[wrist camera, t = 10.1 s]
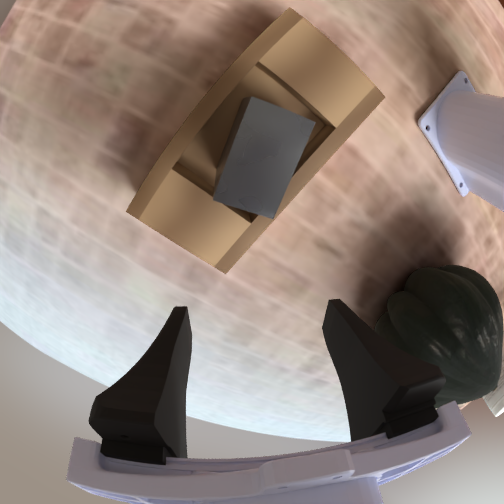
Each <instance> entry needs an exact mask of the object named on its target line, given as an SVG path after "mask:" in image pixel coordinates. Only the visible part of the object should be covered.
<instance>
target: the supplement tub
mask: <svg viewBox="0 0 504 504" xmlns="http://www.w3.org/2000/svg"><path fill="white" fill-rule="evenodd" d="M483 399H484V400H485V402H486V404H487V406H488V407H489V409H490V410H491V412H493V414H494V416H498V415H500V414H501V413H503V412H504V331H503V349H502V369H501V375H500V379H499V382H498V387H497V389H496V390H495V391H491V392H490V393H488V394H487V395H485V396H483Z"/></svg>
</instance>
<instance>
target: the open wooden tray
mask: <svg viewBox="0 0 504 504" xmlns="http://www.w3.org/2000/svg"><path fill="white" fill-rule="evenodd" d="M251 96H252V97H255V98H258V99H261V100H263V101H266V102H269V103H271V104H274V105H276V106H279V107H281V108H284V109H286V110H289V111H291V112H294V113H296V114H298V115H301V116H303V117H305V118H307V119H310V120H312V121H314V122H316V123H315V125H314V128H313V130H312V132H311V135H310V137H309V139H308V141H307V144H306V146H305V148H304V151H303V153H302V155H301V157H300V160H299V162H298V164H297V167H296V169H295V171H294V173H293V176H292V178H291V180H290V183H289V185H288V187H287V189H286V192H285V194H284V196H283V199H282V201H281V203H280V205H279V208H278V210H277V212H276V214H275V217H274V219H270V218H267V217H264V216H261V215H258V214H255V213H252V212H248V211H245V210H242V209H239V208H236V207H232V206H229V205H226V204H223V203H219V202H216V201H213V193H214V184H215V176H216V169H217V166H218V163H219V160H220V158H221V155H222V152H223V149H224V147H225V144H226V141H227V138H228V136H229V133H230V130H231V128H232V125H233V123H234V120H235V117H236V115H237V112H238V110H239V107H240V105H241V102H242V100H243V98H246V97H251ZM384 98H385V96H384V95H383V94H382V92H381V91H380V90H379V89H378V88H377V87H376V86H375V84H374V83H373V82H372V81H371V80H370V79H369V78H368V77H367V76H366V75H365V74H364V73H363V71H362V70H361V69H360V68H359V67H358V66H357V65H356V64H355V63H354V62H353V61H352V60H351V59H350V58H349V57H348V56H347V55H346V54H345V53H344V52H342V51H341V50H340V49H339V48H338V47H337V46H336V45H335V44H334V43H333V42H332V41H331V40H329V39H328V38H327V37H326V36H325V35H324V34H323V33H321V32H320V31H319V30H318V29H317V28H316V27H314V26H313V25H312V24H311V23H309V22H308V21H307V20H306V19H304V18H303V17H302V16H301V15H299V14H298V13H297V12H295V11H294V10H293V9H291V8H290V7H289V8H288V9H287V10H286V11H285V12H284V13H283V14H282V15H281V16H279V17H278V18H277V19H276V20H275V21H274V22H273V23H272V24H271V25H270V26H269V27H268V28H267V29H266V30H265V31H264V32H263V33H261V34H260V35H259V36H258V37H257V38H256V39H255V40H254V41H253V43H252V44H251V45H250V46H249V47H248V48H247V49H246V50H245V51H244V52H243V53H242V54H241V55H240V56H239V57H238V58H237V59H236V60H235V62H234V63H233V64H232V65H231V66H230V67H229V68H228V69H227V70H226V72H225V73H224V74H223V75H222V76H221V77H220V78H219V80H218V81H217V82H216V83H215V84H214V85H213V87H212V88H211V89H210V90H209V91H208V93H207V94H206V95H205V96H204V98H203V99H202V100H201V101H200V103H199V104H198V105H197V106H196V108H195V109H194V110H193V112H192V113H191V114H190V115H189V117H188V118H187V119H186V121H185V122H184V123H183V125H182V126H181V127H180V129H179V130H178V132H177V133H176V134H175V136H174V137H173V138H172V140H171V141H170V143H169V144H168V146H167V147H166V148H165V150H164V151H163V153H162V154H161V156H160V157H159V159H158V160H157V162H156V163H155V165H154V166H153V168H152V169H151V171H150V172H149V174H148V176H147V177H146V179H145V180H144V182H143V184H142V185H141V187H140V188H139V190H138V192H137V193H136V195H135V197H134V198H133V200H132V202H131V203H130V205H129V207H128V209H127V210H126V212H127V213H129V214H130V215H132V216H134V217H135V218H137V219H138V220H140V221H141V222H143V223H144V224H146V225H148V226H149V227H151V228H152V229H154V230H155V231H157V232H159V233H160V234H162V235H163V236H165V237H166V238H168V239H170V240H171V241H173V242H174V243H176V244H178V245H179V246H181V247H182V248H184V249H186V250H187V251H189V252H190V253H192V254H194V255H195V256H197V257H199V258H200V259H202V260H203V261H205V262H207V263H208V264H210V265H212V266H213V267H215V268H217V269H218V270H220V271H221V272H223V273H225V274H226V273H227V272H228V271H229V270H230V269H231V268H232V267H233V265H234V264H235V263H236V262H237V261H238V260H239V259H240V258H241V257H242V255H243V254H244V253H245V252H246V251H247V250H248V249H249V248H250V246H251V245H252V244H253V243H254V242H255V241H256V240H257V239H258V238H259V236H260V235H261V234H262V233H263V232H264V231H265V230H266V229H267V227H268V226H269V225H270V224H271V223H272V222H273V221H274V220H275V219H276V217H277V216H278V215H279V214H280V213H281V212H282V211H283V210H284V209H285V207H286V206H287V205H288V204H289V203H290V202H291V201H292V200H293V199H294V197H295V196H296V195H297V194H298V193H299V192H300V191H301V190H302V189H303V187H304V186H305V185H306V184H307V183H308V182H309V181H310V180H311V179H312V177H313V176H314V175H315V174H316V173H317V172H318V171H319V170H320V169H321V167H322V166H323V165H324V164H325V163H326V162H327V161H328V160H329V159H330V158H331V156H332V155H333V154H334V153H335V152H336V151H337V150H338V149H339V148H340V146H341V145H342V144H343V143H344V142H345V141H346V140H347V139H348V138H349V137H350V135H351V134H352V133H353V132H354V131H355V130H356V129H357V128H358V127H359V126H360V124H361V123H362V122H363V121H364V120H365V119H366V118H367V117H368V116H369V115H370V113H371V112H372V111H373V110H374V109H375V108H376V107H377V106H378V105H379V104H380V102H381V101H382V100H383V99H384Z"/></svg>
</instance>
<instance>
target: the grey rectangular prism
mask: <svg viewBox="0 0 504 504" xmlns="http://www.w3.org/2000/svg"><path fill="white" fill-rule="evenodd" d="M315 123H316V122H314V121H312V120H310V119H307V118H305V117H303V116H301V115H298V114H296V113H294V112H291V111H289V110H286V109H284V108H281V107H279V106H276V105H274V104H271V103H269V102H266V101H263V100H261V99H258V98H255V97H252V96H251V97H246V98H243V100H242V102H241V105H240V107H239V110H238V112H237V115H236V117H235V120H234V123H233V125H232V128H231V130H230V133H229V136H228V138H227V141H226V144H225V147H224V149H223V152H222V155H221V158H220V160H219V163H218V166H217V169H216V176H215V184H214V193H213V201H216V202H219V203H223V204H226V205H229V206H232V207H236V208H239V209H242V210H245V211H248V212H252V213H255V214H258V215H261V216H264V217H267V218H270V219H274V217H275V214H276V212H277V210H278V208H279V205H280V203H281V201H282V199H283V196H284V194H285V192H286V189H287V187H288V185H289V183H290V180H291V178H292V176H293V173H294V171H295V169H296V167H297V164H298V162H299V160H300V157H301V155H302V153H303V151H304V148H305V146H306V144H307V141H308V139H309V137H310V135H311V132H312V130H313V128H314V125H315Z"/></svg>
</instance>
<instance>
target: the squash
mask: <svg viewBox="0 0 504 504" xmlns="http://www.w3.org/2000/svg"><path fill="white" fill-rule="evenodd" d="M387 309H388V312H386V313H385V314H383V315H382V316H381V318H380V319H379V320H378V322H377V323H376V326H375V330H374V331H375V332H376V333H378V334H379V335H380V336H381V337H383V338H384V339H386V340H387V341H388V342H390V343H391V344H393V345H394V346H396V347H398V348H399V349H401V350H403V351H404V352H406V353H408V354H410V355H412V356H414V357H416V358H418V359H421V360H423V361H425V362H428V363H431V364H434V365H436V366H439V368H440V369H441V371H442V373H443V374H444V376H445V378H446V382H445V385H444V386H443V388H442V389H441V390H440V392H439V393H438V394H437V395H436V396H435V397H434V399H435V401H436V404H435V405H434V407H435V408H439V407H441V406H443V405H445V404H447V403H450V402H452V401H456V403H457V405H458V404H463V403H466V402H470V401H473V400H476V399H478V398H481V397H483V396H485V395H487V394H488V393H490V392H491V391H495V390H496V389H497V387H498V382H499V379H500V375H501V369H502V349H503V316H502V309H501V306H500V302H499V299H498V297H497V294H496V293H495V291H494V289H493V288H492V286H491V285H490V284H489V282H488V281H487V280H486V279H485V278H484V277H483V276H482V275H480V274H479V273H477V272H476V271H474V270H472V269H469V268H466V267H463V266H457V265H446V266H442V267H439V268H437V269H436V268H432V267H424V268H421V269H418V270H416V271H415V272H413V273H412V274H411V275H410V276H409V278H408V280H407V281H406V284H405V287H404V291H400V292H396V293H394V294H393V295H391V296H390V297H389V299H388V302H387Z"/></svg>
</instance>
